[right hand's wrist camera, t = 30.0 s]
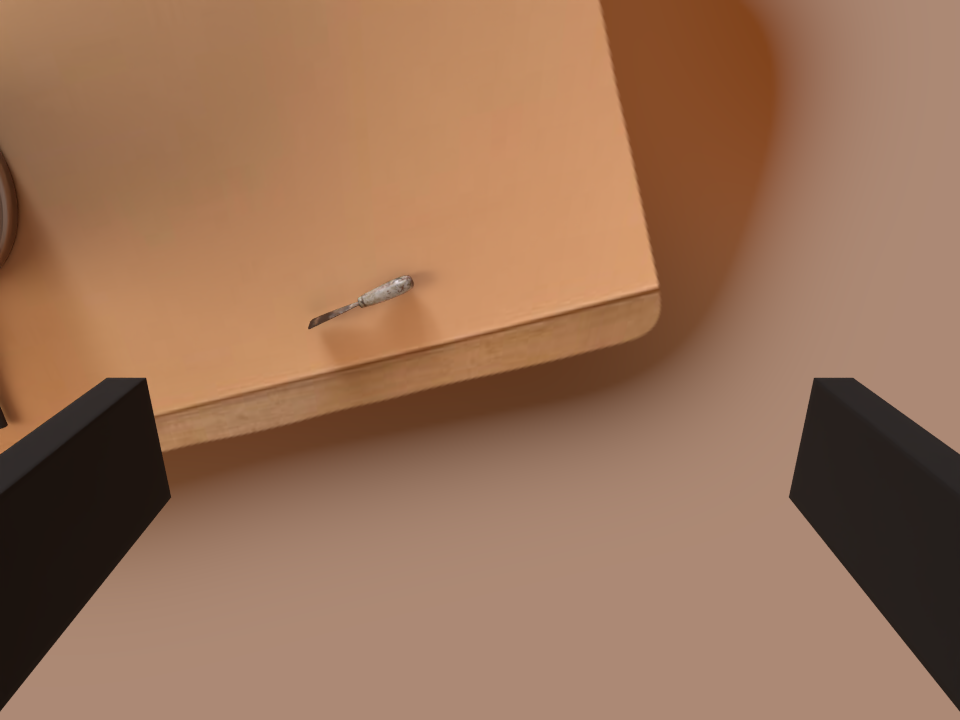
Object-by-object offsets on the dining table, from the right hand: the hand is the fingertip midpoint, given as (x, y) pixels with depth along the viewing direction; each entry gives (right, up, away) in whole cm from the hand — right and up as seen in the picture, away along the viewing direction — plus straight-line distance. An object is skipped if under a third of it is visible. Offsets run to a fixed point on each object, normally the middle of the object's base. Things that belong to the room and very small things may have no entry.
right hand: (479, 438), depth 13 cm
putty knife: (-8, +6, +32) cm, 34 cm away
